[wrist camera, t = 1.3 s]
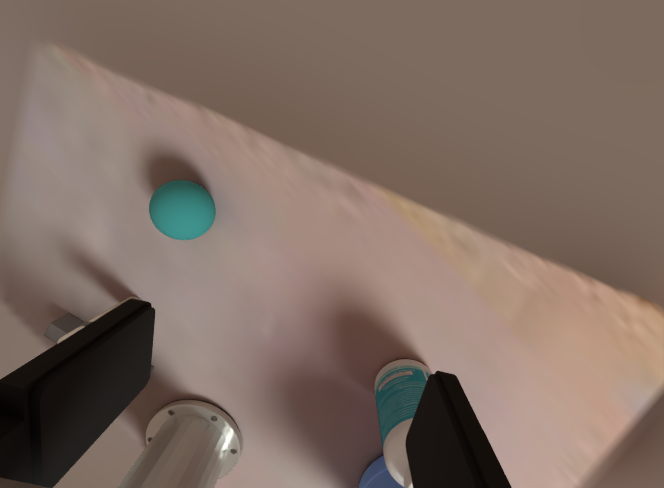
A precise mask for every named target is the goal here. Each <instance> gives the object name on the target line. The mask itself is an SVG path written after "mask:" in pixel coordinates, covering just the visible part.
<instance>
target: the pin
mask: <svg viewBox="0 0 664 488" xmlns="http://www.w3.org/2000/svg"><path fill="white" fill-rule="evenodd" d="M131 298H133V299H137V300H141V299H140V298H138V297H135V296H131V297H129V298H127V299H125V300H123V301H122V302H120V303H118V304H117V305H115V306H113V307H112V308H110V309H108V310H107V311H105V312H103V313H101V314H100V315H98V316H96V317H95V318H93V319H91V320H90V321H88V322H85V323H84V324H82V325H80V326H79V327H77V328H76V329H74V330H73V331H71V332H69V333H68V334H66V335H64V336H63V337H61V338H60V339H59V340H58V342H57V344H58V343H60V342H61V341H63V340H64V339H66V338H68V337H69V336H71V335H72V334H74V333H76V332H77V331H79V330H80V329H82V328H84V327H85V326H87V325H88V324H90V323H92V322H93V321H95V320H96V319H98V318H100V317H101V316H103V315H104V314H106V313H108V312H109V311H111V310H112V309H114V308H116V307H117V306H119V305H120V304H122V303H124V302H125V301H127V300H129V299H131Z"/></svg>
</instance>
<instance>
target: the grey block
mask: <svg viewBox="0 0 664 488" xmlns="http://www.w3.org/2000/svg"><path fill="white" fill-rule="evenodd" d="M82 324H84V322H83V321H81V320H80V319H78V318H76V317H75V316H73V315H72V314H70V313H69V314H67V315H65V316H63V317H61V318H60V319H58V320H56V321H54V322H52V323H51V324H50V325H49V327H48V329H47V331H46V332H45V334H44V336H46V337H47V338H49V339H50V340H52V341H54V342H55V343H57V342H58V340H59V339H60V338H61V337H63V336H64V335H66V334H68V333H69V332H71V331H73V330H74V329H76V328H77V327H79V326H80V325H82ZM152 369H153V366H152V365H151V370H152ZM150 372H151V371H150Z"/></svg>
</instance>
